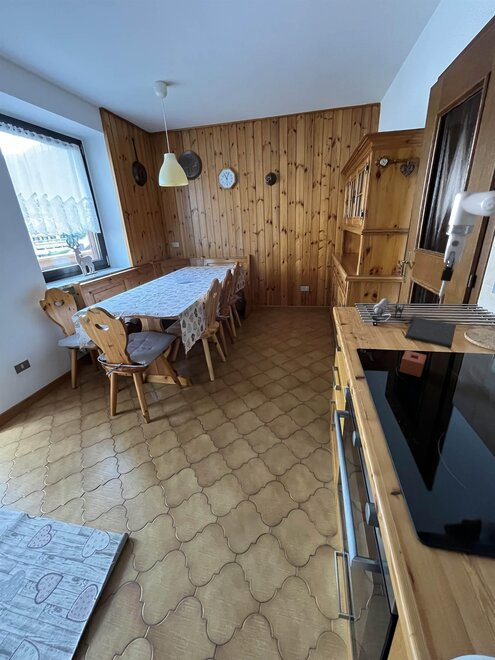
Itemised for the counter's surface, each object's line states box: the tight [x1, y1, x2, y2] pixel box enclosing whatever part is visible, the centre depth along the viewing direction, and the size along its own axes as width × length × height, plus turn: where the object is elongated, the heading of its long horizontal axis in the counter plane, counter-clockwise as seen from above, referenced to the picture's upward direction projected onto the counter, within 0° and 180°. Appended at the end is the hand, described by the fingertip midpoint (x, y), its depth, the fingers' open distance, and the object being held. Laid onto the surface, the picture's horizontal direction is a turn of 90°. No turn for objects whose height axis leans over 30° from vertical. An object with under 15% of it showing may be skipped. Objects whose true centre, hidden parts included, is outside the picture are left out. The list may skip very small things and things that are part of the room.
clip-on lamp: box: [369, 298, 406, 323], centre depth 127 cm, size 12×6×18 cm
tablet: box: [404, 316, 457, 349], centre depth 113 cm, size 16×20×1 cm
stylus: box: [438, 281, 448, 299], centre depth 109 cm, size 1×1×13 cm
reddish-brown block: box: [398, 349, 427, 378], centre depth 91 cm, size 6×6×5 cm
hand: (445, 279), depth 108 cm, fingers closed on stylus, 1 cm apart
